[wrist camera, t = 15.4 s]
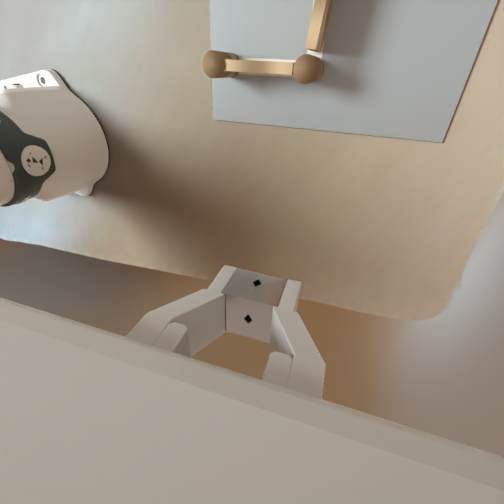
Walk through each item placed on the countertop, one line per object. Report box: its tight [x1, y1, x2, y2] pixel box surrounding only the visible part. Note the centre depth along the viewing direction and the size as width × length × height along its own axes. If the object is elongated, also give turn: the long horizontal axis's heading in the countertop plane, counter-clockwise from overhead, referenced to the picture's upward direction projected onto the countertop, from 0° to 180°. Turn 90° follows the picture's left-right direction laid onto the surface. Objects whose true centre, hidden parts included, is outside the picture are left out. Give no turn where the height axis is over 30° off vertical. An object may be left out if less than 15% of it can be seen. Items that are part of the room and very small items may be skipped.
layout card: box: [210, 0, 498, 143], centre depth 28 cm, size 27×22×1 cm
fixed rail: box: [203, 50, 324, 84], centre depth 30 cm, size 12×2×5 cm, turn 88°
